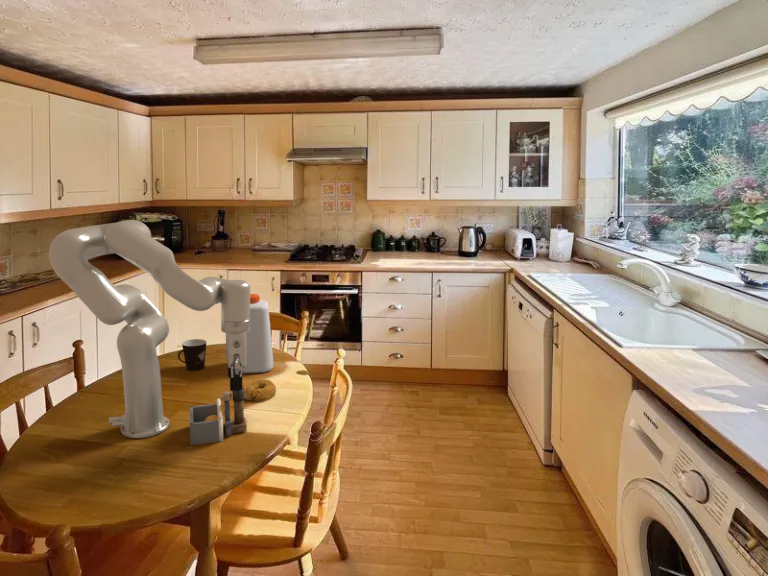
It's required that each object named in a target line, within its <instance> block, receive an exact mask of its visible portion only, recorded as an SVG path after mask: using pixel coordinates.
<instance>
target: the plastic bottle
mask: <svg viewBox="0 0 768 576" xmlns="http://www.w3.org/2000/svg"><path fill="white" fill-rule="evenodd" d="M260 298H261V297H260V295H259V294H257V293H250V330H249V331H248V332H246V363H247V366H246V367H245V368H244V367H242V374H258V373H259V374H260V373H262V374H263V373H268V372H270V371H271V370H272V369H273V367H274V355H273V344H272V333H271V332H272V331H271V321H270V314H269V313H270V312H269V310H270V309H269V302H267V300H265V299H260ZM241 366H242V365H241Z"/></svg>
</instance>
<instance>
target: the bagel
mask: <svg viewBox="0 0 768 576" xmlns="http://www.w3.org/2000/svg"><path fill="white" fill-rule="evenodd" d="M276 387H277V386H276V385H275V384H274V382H273V381H271V379H270V380H269V379H266V378H265V379H257V380H254V381H252V382H251V383H249V385H248V386H247V387H246V388H244V400H247V401H250V402H251V401H255V402H256V401H257V402H266V401H270V400H271V399H273V398H274V397H275V396H276V392H277V388H276ZM272 397H273V398H272Z"/></svg>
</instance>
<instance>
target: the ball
mask: <svg viewBox="0 0 768 576" xmlns="http://www.w3.org/2000/svg"><path fill="white" fill-rule="evenodd" d="M213 420H218V416H216V415H211V416H209V417H207V418H206V419H205V421H213ZM205 421H204V422H205Z"/></svg>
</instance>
